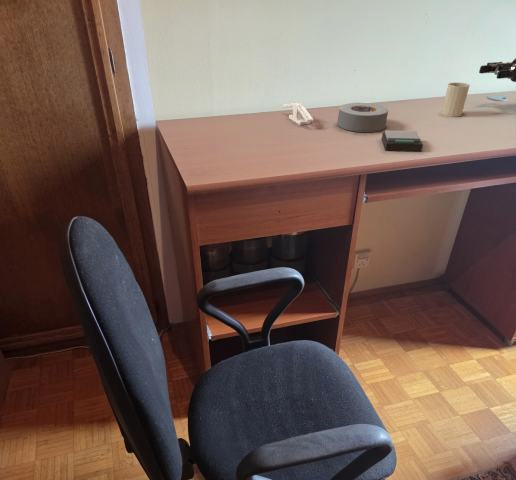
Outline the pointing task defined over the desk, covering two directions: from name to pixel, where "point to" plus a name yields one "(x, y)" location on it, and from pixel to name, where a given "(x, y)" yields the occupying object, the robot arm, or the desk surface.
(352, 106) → the tape roll
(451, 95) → the cup
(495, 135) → the desk surface
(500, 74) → the robot arm
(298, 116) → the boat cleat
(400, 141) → the scale
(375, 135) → the desk surface
